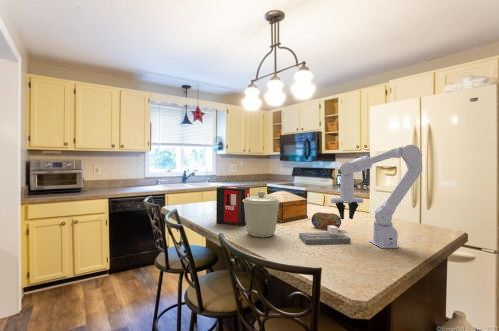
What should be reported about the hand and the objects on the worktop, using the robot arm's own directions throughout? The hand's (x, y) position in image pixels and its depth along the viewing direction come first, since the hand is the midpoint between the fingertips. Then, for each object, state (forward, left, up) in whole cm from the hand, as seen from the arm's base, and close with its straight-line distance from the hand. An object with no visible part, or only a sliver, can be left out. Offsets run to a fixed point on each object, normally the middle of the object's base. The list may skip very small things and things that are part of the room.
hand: (346, 218), depth 121 cm
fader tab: (0, +6, -7) cm, 10 cm away
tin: (+19, +1, -10) cm, 21 cm away
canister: (+11, +37, -10) cm, 40 cm away
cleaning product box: (+35, +49, -10) cm, 61 cm away
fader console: (0, +10, -9) cm, 14 cm away
